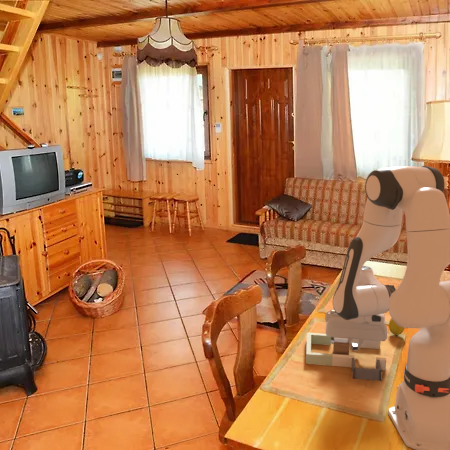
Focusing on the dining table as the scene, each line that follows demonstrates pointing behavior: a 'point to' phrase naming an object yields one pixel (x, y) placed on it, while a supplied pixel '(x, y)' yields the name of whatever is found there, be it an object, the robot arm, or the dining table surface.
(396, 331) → the lemon
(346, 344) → the block
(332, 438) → the dining table surface
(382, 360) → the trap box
